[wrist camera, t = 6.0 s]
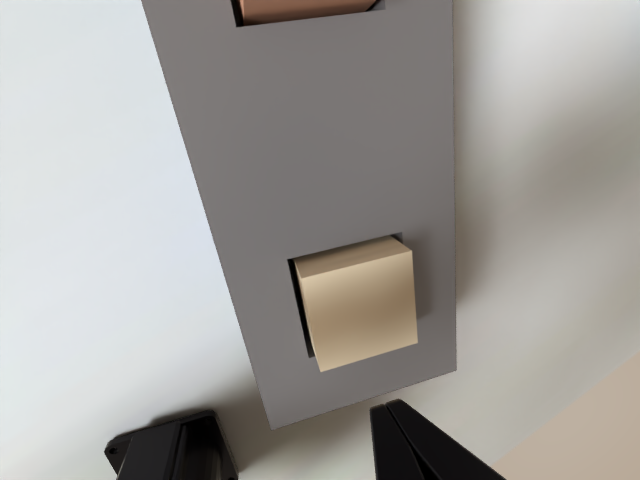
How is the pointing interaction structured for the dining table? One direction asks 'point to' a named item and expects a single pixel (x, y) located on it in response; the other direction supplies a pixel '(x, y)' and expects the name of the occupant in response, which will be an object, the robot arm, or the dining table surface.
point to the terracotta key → (295, 9)
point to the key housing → (319, 173)
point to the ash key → (357, 300)
